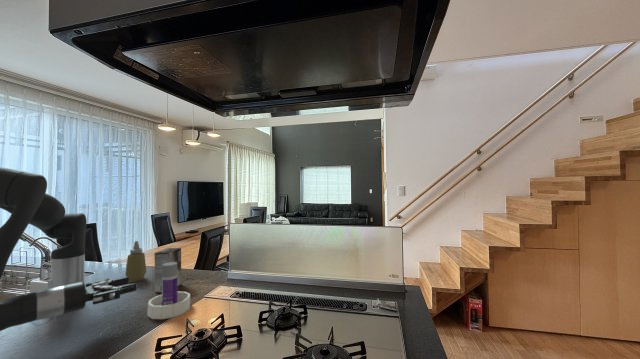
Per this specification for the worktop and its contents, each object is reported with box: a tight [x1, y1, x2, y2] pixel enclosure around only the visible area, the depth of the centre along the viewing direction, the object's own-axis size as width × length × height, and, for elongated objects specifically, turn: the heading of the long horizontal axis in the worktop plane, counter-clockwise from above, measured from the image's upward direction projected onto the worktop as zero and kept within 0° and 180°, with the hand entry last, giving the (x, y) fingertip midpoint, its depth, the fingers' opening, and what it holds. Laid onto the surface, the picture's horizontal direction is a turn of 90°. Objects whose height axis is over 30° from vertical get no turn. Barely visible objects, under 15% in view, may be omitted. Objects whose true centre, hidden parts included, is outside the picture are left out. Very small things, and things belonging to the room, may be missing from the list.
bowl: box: [147, 290, 191, 320], centre depth 92 cm, size 13×13×4 cm
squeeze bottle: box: [124, 240, 147, 283], centre depth 123 cm, size 8×8×18 cm
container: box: [161, 262, 178, 306], centre depth 92 cm, size 5×5×15 cm
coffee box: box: [154, 247, 182, 293], centre depth 113 cm, size 9×6×16 cm
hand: (132, 283), depth 84 cm, fingers open, 8 cm apart
